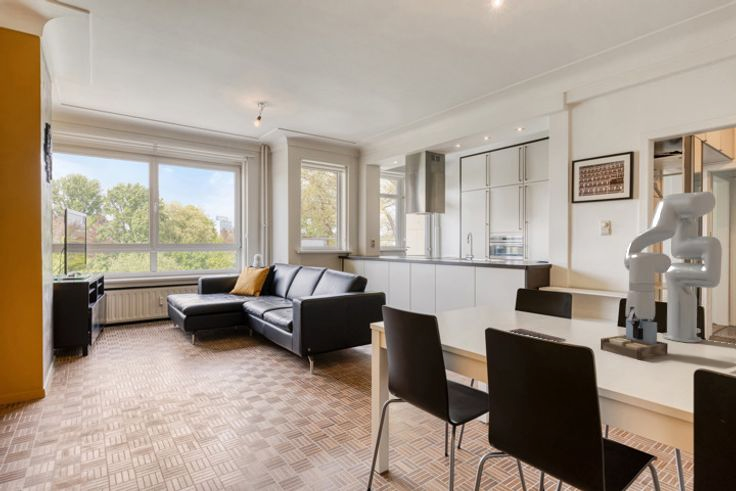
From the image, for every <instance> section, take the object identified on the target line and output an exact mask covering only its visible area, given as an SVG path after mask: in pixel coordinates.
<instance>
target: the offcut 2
mask: <svg viewBox="0 0 736 491" xmlns="http://www.w3.org/2000/svg"><path fill="white" fill-rule="evenodd" d="M643 346H646V345H642V344H638V343H631V344H626V347H628V348H632V349H636V350H637V348H638V347H643Z"/></svg>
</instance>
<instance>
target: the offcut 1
mask: <svg viewBox="0 0 736 491" xmlns="http://www.w3.org/2000/svg"><path fill="white" fill-rule="evenodd" d="M609 343H612V344H616V345H620V346H624V347H626V344H631V340H627V339H622V338H613V339H609Z"/></svg>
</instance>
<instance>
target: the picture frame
mask: <svg viewBox="0 0 736 491" xmlns="http://www.w3.org/2000/svg"><path fill="white" fill-rule="evenodd" d="M508 331H510V332H514V333H518V334H523V335H529V336H533V337H538V338H542V339H547V340H553V341H559V342H558V343H561V342H565V341H566V338H563V337H557V336H553V335H550V334H545V333H542V332H536V331H533V330H528V329H525V328H517V329H510V330H509V329H508Z"/></svg>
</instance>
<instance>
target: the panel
mask: <svg viewBox="0 0 736 491" xmlns="http://www.w3.org/2000/svg"><path fill="white" fill-rule="evenodd" d="M637 322H638V321H637ZM642 329H643V339H642V340H640V339H636V338H633V327H632V324H631V323H630V322H628V318H627V317H626V319H625V335H626V338H629V339H634V340H638V341H642V342H646V343H651V344H657V341H658V322H655V321H646V320H642Z"/></svg>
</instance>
